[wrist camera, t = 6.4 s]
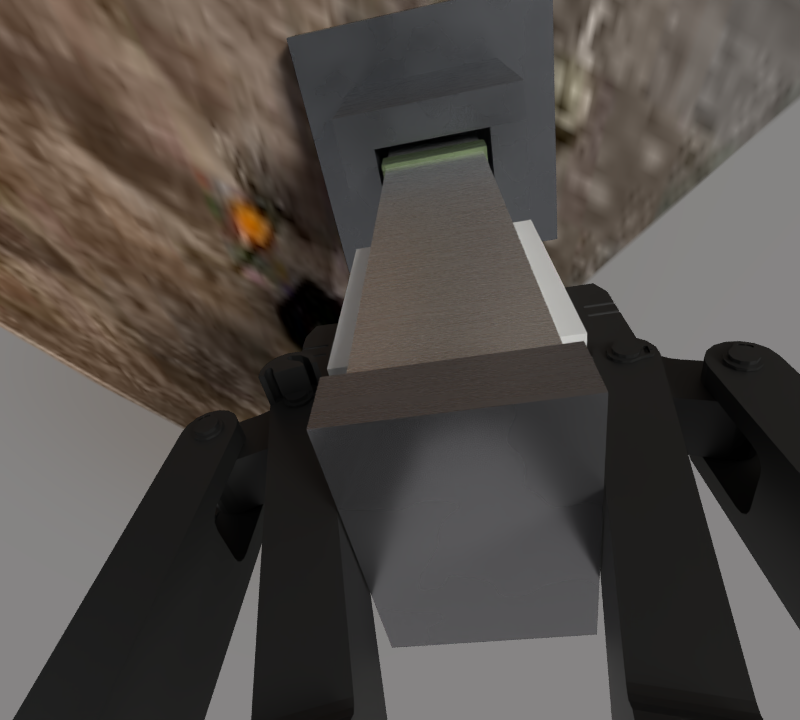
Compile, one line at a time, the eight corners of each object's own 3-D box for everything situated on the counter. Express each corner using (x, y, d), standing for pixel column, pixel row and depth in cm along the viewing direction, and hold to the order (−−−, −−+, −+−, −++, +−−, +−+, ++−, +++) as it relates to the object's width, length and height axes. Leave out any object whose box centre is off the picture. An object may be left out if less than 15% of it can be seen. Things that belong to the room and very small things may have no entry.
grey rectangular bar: (406, 241, 28) (384, 648, 10) (383, 122, 24) (295, 431, 7) (486, 227, 27) (604, 633, 10) (474, 104, 24) (620, 390, 7)
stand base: (352, 260, 37) (331, 344, 28) (293, 35, 30) (238, 53, 21) (550, 227, 36) (595, 306, 27) (544, -22, 28) (604, -30, 19)
